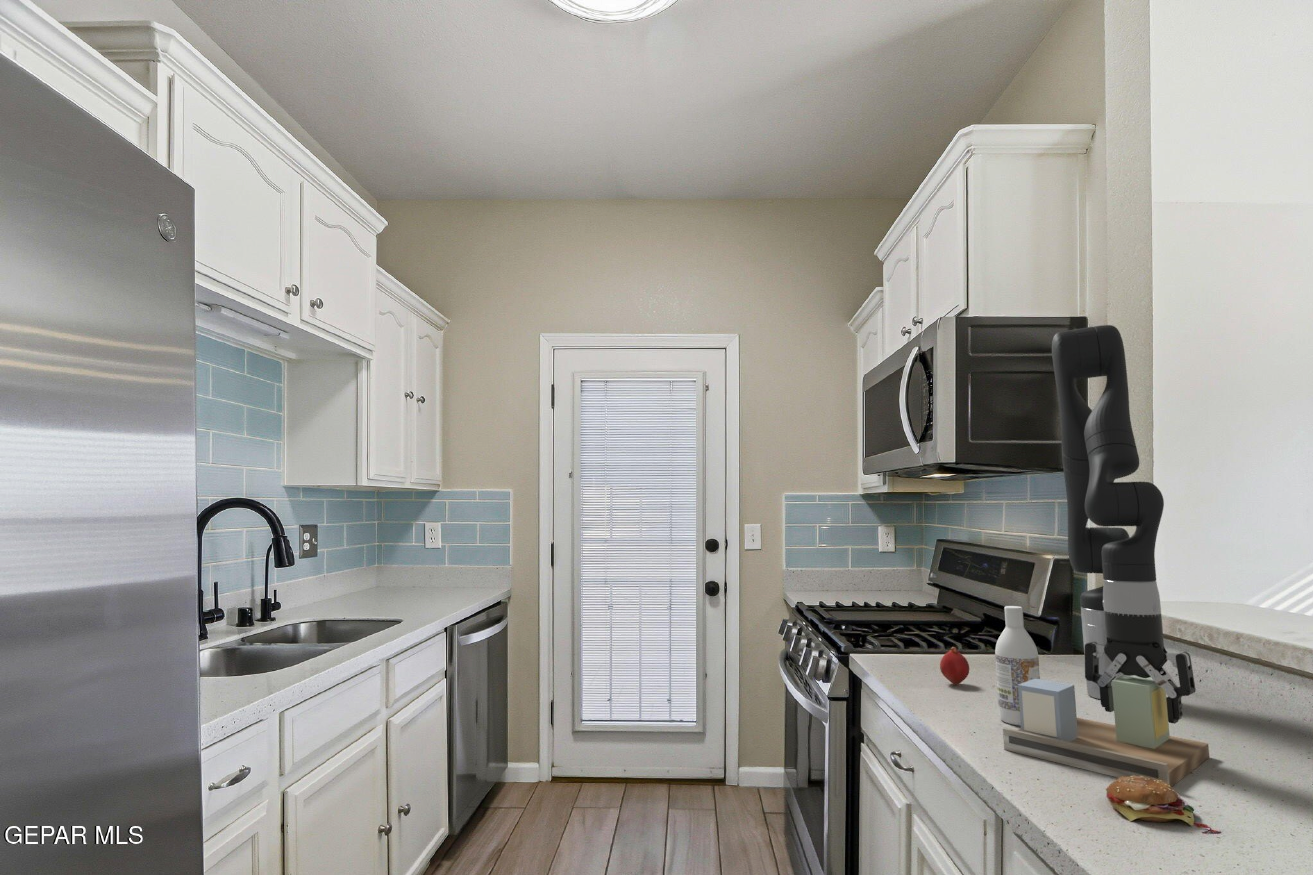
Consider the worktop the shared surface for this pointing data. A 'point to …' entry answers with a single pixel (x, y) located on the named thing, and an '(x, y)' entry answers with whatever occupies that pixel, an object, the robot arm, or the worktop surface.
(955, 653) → the onion
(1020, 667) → the bath foam
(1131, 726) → the tea box
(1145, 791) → the hamburger
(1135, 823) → the worktop surface
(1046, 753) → the wooden slab
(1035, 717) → the box
